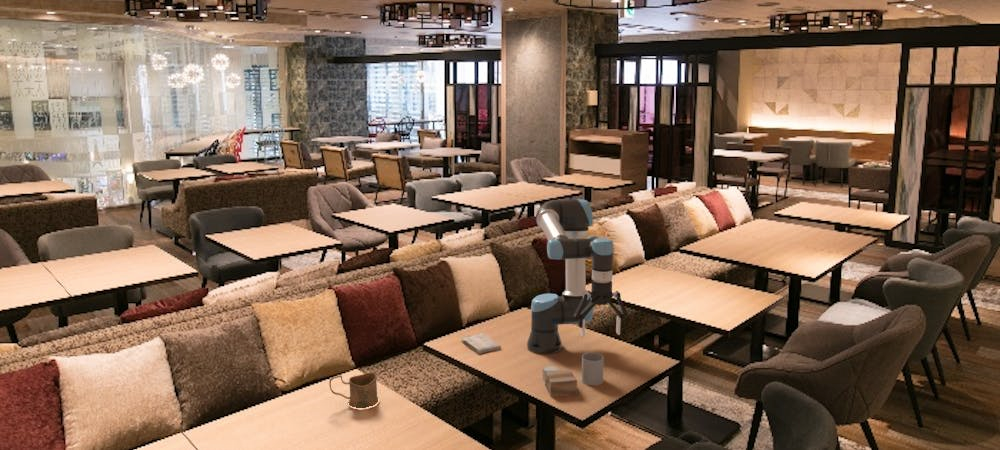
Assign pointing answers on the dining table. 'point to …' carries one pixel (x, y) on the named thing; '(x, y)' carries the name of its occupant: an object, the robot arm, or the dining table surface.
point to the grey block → (548, 370)
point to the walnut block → (560, 383)
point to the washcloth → (480, 343)
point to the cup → (592, 368)
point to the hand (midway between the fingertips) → (600, 334)
